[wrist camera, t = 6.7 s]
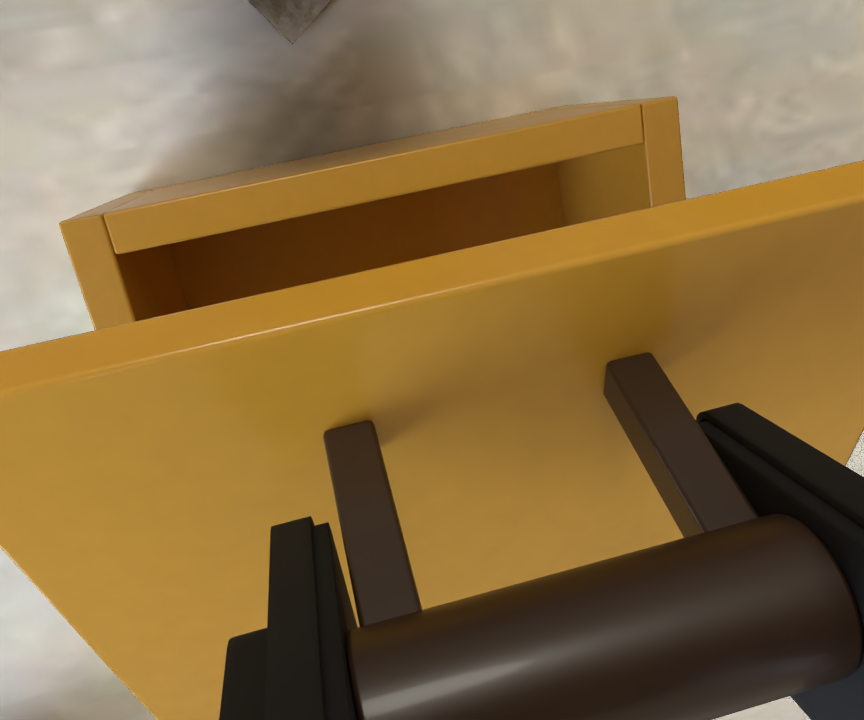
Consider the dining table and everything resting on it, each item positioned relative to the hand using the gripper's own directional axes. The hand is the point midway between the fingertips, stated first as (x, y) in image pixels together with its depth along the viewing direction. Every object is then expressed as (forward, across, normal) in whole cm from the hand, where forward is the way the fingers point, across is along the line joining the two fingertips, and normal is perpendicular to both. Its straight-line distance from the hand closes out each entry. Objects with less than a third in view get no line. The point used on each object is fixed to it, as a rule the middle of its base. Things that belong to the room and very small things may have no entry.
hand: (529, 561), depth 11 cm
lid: (+4, 0, +3) cm, 5 cm away
